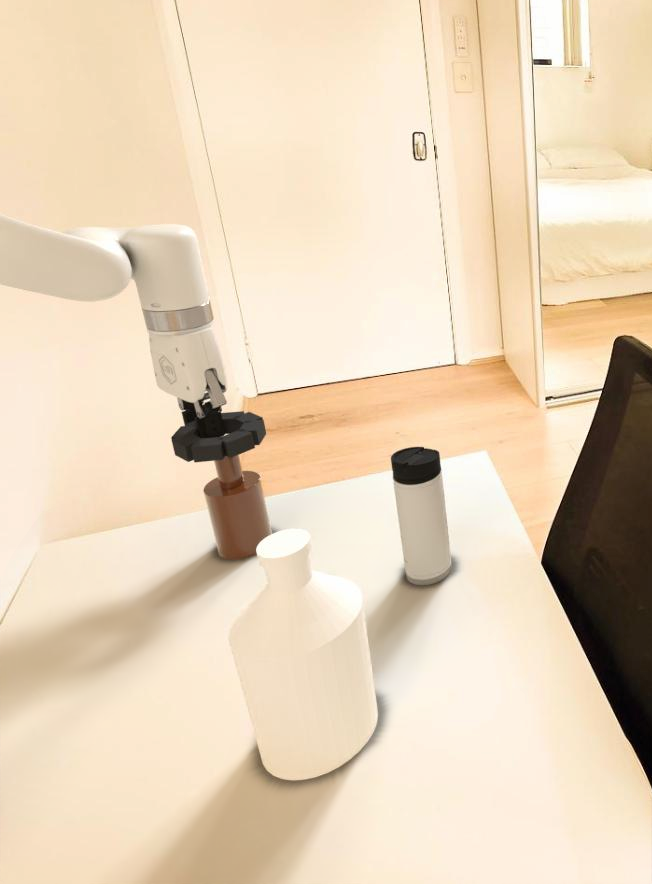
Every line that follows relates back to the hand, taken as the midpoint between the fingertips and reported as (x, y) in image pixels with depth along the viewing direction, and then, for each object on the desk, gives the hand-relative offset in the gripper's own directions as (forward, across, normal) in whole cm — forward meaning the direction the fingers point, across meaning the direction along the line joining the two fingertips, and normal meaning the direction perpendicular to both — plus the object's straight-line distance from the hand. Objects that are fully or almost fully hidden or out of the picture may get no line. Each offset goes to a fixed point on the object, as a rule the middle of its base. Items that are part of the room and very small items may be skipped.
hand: (206, 434), depth 100 cm
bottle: (+18, +43, -14) cm, 49 cm away
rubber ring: (0, +4, 0) cm, 4 cm away
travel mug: (+18, +32, +10) cm, 38 cm away
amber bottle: (+18, +4, 0) cm, 18 cm away
